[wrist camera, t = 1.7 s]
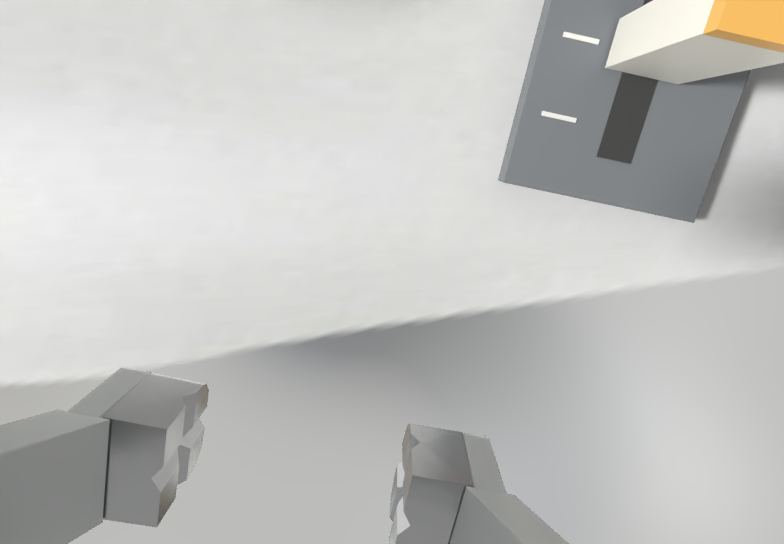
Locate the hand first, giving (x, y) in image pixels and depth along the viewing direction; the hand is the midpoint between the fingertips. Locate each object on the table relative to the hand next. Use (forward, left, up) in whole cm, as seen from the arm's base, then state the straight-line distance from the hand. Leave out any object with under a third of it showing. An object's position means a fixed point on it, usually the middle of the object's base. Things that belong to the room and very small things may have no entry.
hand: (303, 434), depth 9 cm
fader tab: (-5, +21, -27) cm, 34 cm away
